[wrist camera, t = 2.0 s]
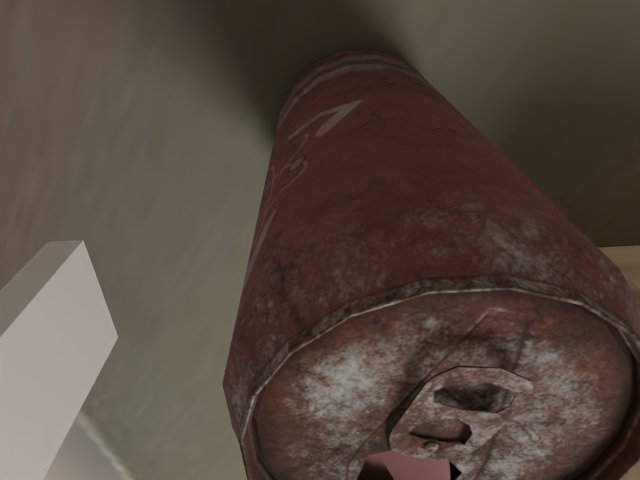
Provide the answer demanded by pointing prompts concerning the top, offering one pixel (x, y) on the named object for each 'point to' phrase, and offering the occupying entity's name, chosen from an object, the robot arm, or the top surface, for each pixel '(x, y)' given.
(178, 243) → the top surface
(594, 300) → the can
